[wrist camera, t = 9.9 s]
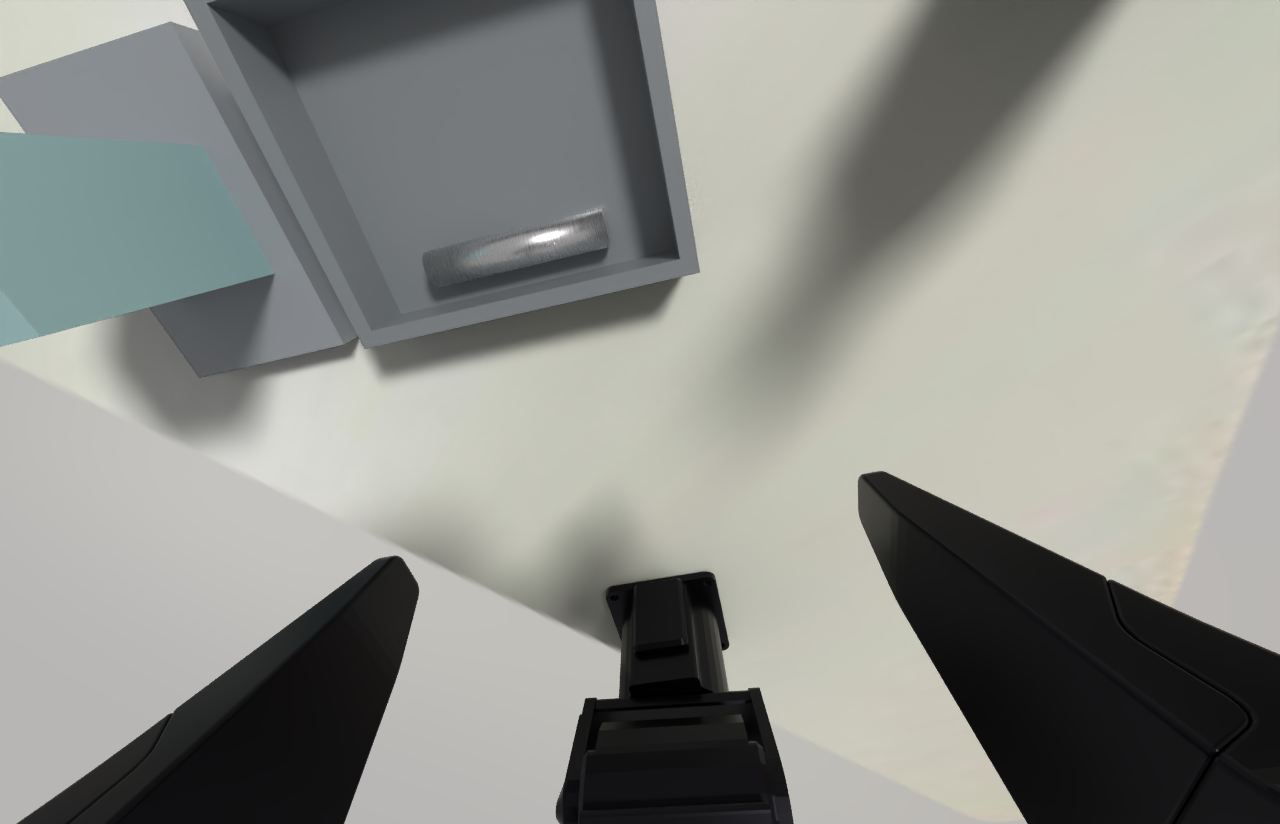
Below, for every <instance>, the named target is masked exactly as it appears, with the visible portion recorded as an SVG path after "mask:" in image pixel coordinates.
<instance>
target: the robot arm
mask: <svg viewBox="0 0 1280 824" xmlns="http://www.w3.org/2000/svg"><path fill="white" fill-rule="evenodd" d="M858 511H859V517H860V520H861V523H862V525H863V528H864V530H865V532H866V534H867V537H868V539H869V541H870V543H871V546H872V548H873V550H874V552H875V554H876V557H877V559H878V561H879V563H880V566H881V568H882V570H883V572H884V575H885V577H886V579H887V581H888V584H889V586H890V588H891V590H892V592H893V594H894V596H895V599H896V600H897V602H898V604H899V606H900V608H901V609H902V611H903V613H904V615H905V616H906V618H907V620H908V621H909V623H910V625H911V627H912V628H913V630H914V632H915V633H916V635H917V637H918V638H919V640H920V642H921V644H922V645H923V647H924V649H925V650H926V652H927V654H928V655H929V657H930V659H931V660H932V662H933V664H934V666H935V667H936V669H937V671H938V672H939V674H940V676H941V677H942V679H943V681H944V683H945V684H946V686H947V688H948V689H949V691H950V693H951V694H952V696H953V698H954V700H955V701H956V703H957V705H958V706H959V708H960V710H961V711H962V713H963V715H964V717H965V718H966V720H967V722H968V723H969V725H970V727H971V728H972V730H973V732H974V734H975V735H976V737H977V739H978V740H979V742H980V744H981V745H982V747H983V749H984V750H985V752H986V754H987V756H988V757H989V759H990V761H991V762H992V764H993V766H994V767H995V769H996V771H997V773H998V774H999V776H1000V778H1001V779H1002V781H1003V783H1004V784H1005V786H1006V788H1007V790H1008V791H1009V793H1010V795H1011V796H1012V798H1013V800H1014V801H1015V803H1016V805H1017V807H1018V808H1019V810H1020V812H1021V813H1022V815H1023V817H1024V818H1025V820H1026V822H1027V823H1028V824H1280V654H1277V653H1275V652H1272V651H1270V650H1268V649H1265V648H1263V647H1260V646H1258V645H1256V644H1254V643H1251V642H1249V641H1246V640H1244V639H1242V638H1240V637H1237V636H1235V635H1232V634H1230V633H1228V632H1225V631H1223V630H1221V629H1219V628H1216V627H1213V626H1212V625H1209V624H1207V623H1204V622H1202V621H1200V620H1198V619H1196V618H1193V617H1191V616H1189V615H1187V614H1185V613H1182V612H1180V611H1178V610H1176V609H1174V608H1172V607H1169V606H1167V605H1165V604H1163V603H1161V602H1159V601H1156V600H1154V599H1152V598H1150V597H1148V596H1145V595H1143V594H1141V593H1139V592H1137V591H1135V590H1133V589H1131V588H1129V587H1127V586H1124V585H1122V584H1120V583H1118V582H1116V581H1114V580H1108V581H1107V580H1106V578H1105V577H1104V576H1103V575H1101V574H1099V573H1097V572H1095V571H1093V570H1090V569H1088V568H1086V567H1084V566H1082V565H1080V564H1078V563H1076V562H1074V561H1072V560H1069V559H1067V558H1065V557H1063V556H1061V555H1059V554H1057V553H1055V552H1053V551H1051V550H1048V549H1046V548H1044V547H1042V546H1040V545H1038V544H1036V543H1034V542H1032V541H1030V540H1027V539H1025V538H1023V537H1021V536H1019V535H1017V534H1015V533H1013V532H1011V531H1009V530H1006V529H1004V528H1002V527H1000V526H998V525H996V524H994V523H992V522H990V521H988V520H985V519H983V518H981V517H979V516H977V515H975V514H973V513H971V512H969V511H967V510H964V509H962V508H960V507H958V506H956V505H954V504H952V503H950V502H948V501H946V500H943V499H941V498H939V497H937V496H935V495H933V494H931V493H929V492H927V491H925V490H922V489H920V488H918V487H916V486H914V485H912V484H910V483H908V482H906V481H904V480H901V479H899V478H897V477H895V476H893V475H891V474H889V473H887V472H884V471H878V472H872V473H867V474H862V475H861V476H860V477H859V479H858ZM706 580H709V581H706ZM615 595H616V596H615ZM418 596H419V587H418V583H417V581H416V580H415V578H414V576H413V575H412V573H411V572H410V570H409V568H408V567H407V565H406V564H405V562H404V560H403V559H402V558H401V557H399V556H389V557H384V558H379V559H377V560H375V561H374V562H372V563H371V564H370V565H368V566H367V567H365V568H364V569H363V570H361V571H360V572H359V573H357V574H356V575H355V576H353V577H352V578H351V579H349V580H348V581H347V582H345V583H344V584H343V585H341V586H340V587H339V588H337V589H336V590H335V591H333V592H332V593H331V594H329V595H328V596H327V597H325V598H324V599H323V600H321V601H320V602H319V603H318V604H316V605H315V606H313V607H312V608H311V609H309V610H308V611H307V612H305V613H304V614H303V615H301V616H300V617H299V618H297V619H296V620H294V621H293V622H292V623H290V624H289V625H288V626H286V627H285V628H284V629H282V630H281V631H280V632H278V633H277V634H276V635H274V636H273V637H272V638H270V639H269V640H268V641H266V642H265V643H264V644H262V645H261V646H260V647H258V648H257V649H256V650H254V651H253V652H252V653H250V654H249V655H248V656H246V657H245V658H244V659H243V660H241V661H240V662H238V663H237V664H236V665H234V666H233V667H231V669H229V670H228V671H226V672H225V673H224V674H222V675H221V676H219V677H218V678H217V679H215V680H214V681H213V682H211V683H210V684H209V685H208V686H206V687H205V688H203V689H202V690H201V691H199V692H198V693H197V694H195V695H194V696H193V697H191V698H190V699H189V700H187V701H186V702H185V703H183V704H182V705H181V706H179V707H178V708H177V709H176V710H175V711H174V713H171V714H168V715H167V716H166V717H164V718H163V719H162V720H160V721H159V722H158V723H156V724H155V725H154V726H152V727H151V728H150V729H148V730H147V731H146V732H145V733H143V734H142V735H140V736H139V737H137V738H136V739H135V740H133V741H132V742H131V743H129V744H128V745H127V746H125V747H124V748H122V749H121V750H120V751H118V752H117V753H116V754H114V755H113V756H112V757H110V758H109V759H108V760H106V761H105V762H104V763H102V764H101V765H99V766H98V767H96V768H95V769H94V770H92V771H91V772H89V773H88V774H87V775H85V776H84V777H82V778H81V779H79V780H78V781H77V782H76V783H74V784H72V785H71V786H70V787H68V788H67V789H65V790H64V791H63V792H61V793H60V794H58V795H57V796H55V797H54V798H53V799H51V800H50V801H48V802H47V803H45V804H44V805H43V806H41V807H40V808H38V809H37V810H35V811H34V812H33V813H31V814H30V815H28V816H27V817H25V818H24V819H22V820H21V821H20V822H18V823H17V824H344V822H345V820H346V817H347V814H348V811H349V809H350V806H351V803H352V800H353V797H354V795H355V792H356V789H357V786H358V784H359V781H360V778H361V775H362V773H363V770H364V767H365V764H366V761H367V758H368V756H369V753H370V750H371V747H372V745H373V742H374V739H375V736H376V734H377V731H378V728H379V725H380V723H381V720H382V717H383V714H384V712H385V709H386V706H387V703H388V700H389V698H390V695H391V692H392V689H393V687H394V684H395V681H396V678H397V675H398V672H399V669H400V665H401V662H402V658H403V654H404V650H405V646H406V643H407V639H408V635H409V631H410V627H411V623H412V620H413V616H414V612H415V608H416V604H417V600H418ZM606 600H607V603H608V606H609V608H610V611H611V614H612V616H613V619H614V622H615V625H616V627H617V630H618V633H619V636H620V638H621V641H622V647H621V668H620V689H619V698H618V699H617V698H616V699H601V700H597V698H586V699H585V703H584V707H583V712H582V714H581V715H580V716H579V720H578V724H577V729H576V734H575V738H574V742H573V747H572V751H571V756H570V760H569V764H568V769H567V773H566V778H565V782H564V785H563V788H562V791H561V793H560V795H559V798H558V801H557V805H556V818H557V820H558V822H559V823H560V824H794V823H793V817H792V810H791V805H790V799H789V794H788V789H787V784H786V779H785V775H784V771H783V767H782V763H781V760H780V756H779V753H778V750H777V746H776V743H775V739H774V736H773V732H772V729H771V725H770V722H769V719H768V715H767V712H766V709H765V705H764V702H763V698H762V695H761V692H760V688H748V690H746V691H729V690H728V684H727V678H726V672H725V666H724V660H723V654H722V651H723V650H726V649H727V648H728V647H729V641H728V636H727V631H726V626H725V622H724V617H723V612H722V607H721V603H720V598H719V593H718V588H717V583H716V579H715V576H714V574H713V573H711V572H702V573H695V574H689V575H683V576H676V577H670V578H664V579H657V580H651V581H645V582H639V583H632V584H626V585H620V586H613V587H610V588H609V589H607V591H606Z"/></svg>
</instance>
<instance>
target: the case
mask: <svg viewBox="0 0 1280 824" xmlns="http://www.w3.org/2000/svg"><path fill="white" fill-rule="evenodd" d="M183 1H184V2H185V4H186V6H187V8H188V10H189V12H190V14H191V16H192V18H193V20H194V22H195V24H196V26H197V28H198V29H199V31H200V33H201V35H202V37H203V39H204V41H205V43H206V45H207V47H208V49H209V51H210V53H211V54H212V56H213V58H214V60H215V62H216V64H217V66H218V68H219V70H220V72H221V74H222V76H223V78H224V79H225V81H226V83H227V85H228V87H229V89H230V91H231V93H232V95H233V97H234V99H235V101H236V103H237V104H238V106H239V108H240V110H241V112H242V114H243V116H244V118H245V120H246V122H247V124H248V126H249V128H250V129H251V131H252V133H253V135H254V137H255V139H256V141H257V143H258V145H259V147H260V149H261V151H262V153H263V154H264V156H265V158H266V160H267V162H268V164H269V166H270V168H271V170H272V172H273V174H274V176H275V178H276V179H277V181H278V183H279V185H280V187H281V189H282V191H283V193H284V195H285V197H286V199H287V201H288V203H289V204H290V206H291V208H292V210H293V212H294V214H295V216H296V218H297V220H298V222H299V224H300V226H301V228H302V229H303V231H304V233H305V235H306V237H307V239H308V241H309V243H310V245H311V247H312V249H313V251H314V253H315V254H316V256H317V258H318V260H319V262H320V264H321V266H322V268H323V270H324V272H325V274H326V276H327V278H328V279H329V281H330V283H331V285H332V287H333V289H334V291H335V293H336V295H337V297H338V299H339V301H340V303H341V304H342V306H343V308H344V310H345V312H346V314H347V316H348V318H349V320H350V322H351V324H352V326H353V328H354V329H355V331H356V333H357V335H358V337H359V339H360V341H361V343H362V345H363V347H364V349H367V348H371V347H376V346H380V345H384V344H389V343H393V342H397V341H402V340H406V339H411V338H415V337H419V336H424V335H428V334H433V333H437V332H441V331H446V330H450V329H454V328H459V327H463V326H468V325H472V324H476V323H481V322H485V321H489V320H494V319H498V318H503V317H507V316H511V315H516V314H520V313H525V312H529V311H533V310H538V309H542V308H546V307H551V306H555V305H560V304H564V303H568V302H573V301H577V300H581V299H586V298H590V297H595V296H599V295H603V294H608V293H612V292H617V291H621V290H625V289H630V288H634V287H638V286H643V285H647V284H652V283H656V282H660V281H665V280H669V279H674V278H678V277H682V276H687V275H691V274H695V273H700V270H699V264H698V258H697V252H696V246H695V239H694V233H693V227H692V221H691V215H690V209H689V203H688V197H687V191H686V185H685V178H684V172H683V166H682V160H681V154H680V148H679V142H678V136H677V130H676V123H675V117H674V111H673V105H672V99H671V93H670V87H669V81H668V75H667V69H666V62H665V56H664V50H663V44H662V38H661V32H660V26H659V20H658V14H657V7H656V1H655V0H183ZM598 208H603V210H604V213H605V216H606V220H607V224H608V228H609V232H610V237H611V245H612V246H611V247H608V248H604V249H600V250H595V251H591V252H587V253H583V254H579V255H575V256H570V257H566V258H562V259H558V260H554V261H549V262H545V263H541V264H537V265H533V266H529V267H524V268H520V269H516V270H512V271H508V272H503V273H499V274H495V275H491V276H487V277H483V278H478V279H474V280H470V281H466V282H462V283H457V284H453V285H449V286H445V287H441V288H437V287H435V286H434V285H433V284H432V283H431V282H430V280H429V279H428V277H427V275H426V273H425V270H424V267H423V262H422V256H423V253H424V252H425V251H429V250H433V249H437V248H441V247H445V246H449V245H453V244H457V243H461V242H465V241H469V240H473V239H477V238H481V237H485V236H489V235H493V234H497V233H501V232H505V231H509V230H513V229H517V228H521V227H525V226H529V225H534V224H538V223H542V222H546V221H550V220H554V219H558V218H562V217H566V216H570V215H574V214H578V213H582V212H586V211H590V210H594V209H598Z"/></svg>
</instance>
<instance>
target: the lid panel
mask: <svg viewBox="0 0 1280 824" xmlns="http://www.w3.org/2000/svg"><path fill="white" fill-rule="evenodd" d="M0 98H1V99H2V100H3V102H4V103H5V105H6V106H7V108H8V109H9V110H10V112H11V113H12V115H13V116H14V117H15V119H16V120H17V122H18V123H19V124H20V126H21V127H22V129H23V130H24V131H25V133H26V134H37V135H52V136H67V137H82V138H97V139H113V140H128V141H143V142H158V143H174V144H189V145H202V146H203V148H204V149H205V151H206V153H207V155H208V156H209V158H210V160H211V162H212V163H213V165H214V167H215V169H216V171H217V172H218V174H219V176H220V178H221V179H222V181H223V183H224V185H225V186H226V188H227V190H228V192H229V193H230V195H231V197H232V199H233V200H234V202H235V204H236V206H237V207H238V209H239V211H240V213H241V215H242V216H243V218H244V220H245V222H246V223H247V225H248V227H249V229H250V230H251V232H252V234H253V236H254V237H255V239H256V241H257V243H258V244H259V246H260V248H261V250H262V252H263V253H264V255H265V257H266V259H267V260H268V262H269V264H270V266H271V267H272V269H273V271H274V273H275V274H271V275H268V276H264V277H260V278H257V279H253V280H249V281H245V282H242V283H238V284H234V285H231V286H227V287H223V288H219V289H216V290H212V291H208V292H205V293H201V294H197V295H193V296H190V297H186V298H182V299H178V300H175V301H171V302H167V303H164V304H160V305H156V306H152V307H149V308H150V309H151V310H152V312H153V313H154V315H155V316H156V317H157V319H158V320H159V322H160V323H161V324H162V326H163V327H164V329H165V330H166V331H167V333H168V334H169V336H170V337H171V338H172V340H173V341H174V343H175V344H176V346H177V347H178V348H179V350H180V351H181V353H182V354H183V355H184V357H185V358H186V360H187V361H188V362H189V364H190V365H191V367H192V368H193V369H194V371H195V372H196V374H197V375H198V377H199V378H202V377H206V376H210V375H215V374H219V373H223V372H228V371H232V370H236V369H241V368H245V367H249V366H254V365H258V364H262V363H267V362H271V361H275V360H280V359H284V358H288V357H293V356H297V355H301V354H306V353H310V352H314V351H319V350H323V349H327V348H332V347H336V346H340V345H344V344H346V343H348V342H350V341H351V340H353V339H355V338H357V337H358V335H357V333H356V331H355V329H354V328H353V326H352V324H351V322H350V320H349V318H348V316H347V314H346V312H345V310H344V308H343V306H342V304H341V303H340V301H339V299H338V297H337V295H336V293H335V291H334V289H333V287H332V285H331V283H330V281H329V279H328V278H327V276H326V274H325V272H324V270H323V268H322V266H321V264H320V262H319V260H318V258H317V256H316V254H315V253H314V251H313V249H312V247H311V245H310V243H309V241H308V239H307V237H306V235H305V233H304V231H303V229H302V228H301V226H300V224H299V222H298V220H297V218H296V216H295V214H294V212H293V210H292V208H291V206H290V204H289V203H288V201H287V199H286V197H285V195H284V193H283V191H282V189H281V187H280V185H279V183H278V181H277V179H276V178H275V176H274V174H273V172H272V170H271V168H270V166H269V164H268V162H267V160H266V158H265V156H264V154H263V153H262V151H261V149H260V147H259V145H258V143H257V141H256V139H255V137H254V135H253V133H252V131H251V129H250V128H249V126H248V124H247V122H246V120H245V118H244V116H243V114H242V112H241V110H240V108H239V106H238V104H237V103H236V101H235V99H234V97H233V95H232V93H231V91H230V89H229V87H228V85H227V83H226V81H225V79H224V78H223V76H222V74H221V72H220V70H219V68H218V66H217V64H216V62H215V60H214V58H213V56H212V54H211V53H210V51H209V49H208V47H207V45H206V43H205V41H204V39H203V37H202V35H201V33H200V31H198V30H195V29H192V28H188V27H185V26H182V25H179V24H176V23H173V22H168V23H165V24H162V25H159V26H156V27H153V28H150V29H147V30H143V31H140V32H137V33H134V34H131V35H128V36H125V37H122V38H119V39H116V40H113V41H110V42H107V43H104V44H101V45H98V46H95V47H91V48H88V49H85V50H82V51H79V52H76V53H73V54H70V55H67V56H64V57H61V58H58V59H55V60H52V61H49V62H46V63H43V64H39V65H36V66H33V67H30V68H27V69H24V70H21V71H18V72H15V73H12V74H9V75H6V76H3V77H0Z"/></svg>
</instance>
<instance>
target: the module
mask: <svg viewBox="0 0 1280 824" xmlns="http://www.w3.org/2000/svg"><path fill="white" fill-rule="evenodd" d="M271 274H275V273H274V271H273V269H272V267H271V266H270V264H269V262H268V260H267V259H266V257H265V255H264V253H263V252H262V250H261V248H260V246H259V244H258V243H257V241H256V239H255V237H254V236H253V234H252V232H251V230H250V229H249V227H248V225H247V223H246V222H245V220H244V218H243V216H242V215H241V213H240V211H239V209H238V207H237V206H236V204H235V202H234V200H233V199H232V197H231V195H230V193H229V192H228V190H227V188H226V186H225V185H224V183H223V181H222V179H221V178H220V176H219V174H218V172H217V171H216V169H215V167H214V165H213V163H212V162H211V160H210V158H209V156H208V155H207V153H206V151H205V149H204V148H203V146H202V145H189V144H174V143H158V142H143V141H128V140H113V139H97V138H82V137H67V136H52V135H37V134H21V133H6V132H0V347H1V346H5V345H9V344H13V343H17V342H21V341H25V340H29V339H33V338H37V337H41V336H45V335H48V334H52V333H56V332H59V331H63V330H67V329H71V328H74V327H78V326H82V325H85V324H89V323H93V322H97V321H100V320H104V319H108V318H112V317H115V316H119V315H123V314H126V313H130V312H134V311H138V310H141V309H145V308H149V307H152V306H156V305H160V304H164V303H167V302H171V301H175V300H178V299H182V298H186V297H190V296H193V295H197V294H201V293H205V292H208V291H212V290H216V289H219V288H223V287H227V286H231V285H234V284H238V283H242V282H245V281H249V280H253V279H257V278H260V277H264V276H268V275H271Z"/></svg>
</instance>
